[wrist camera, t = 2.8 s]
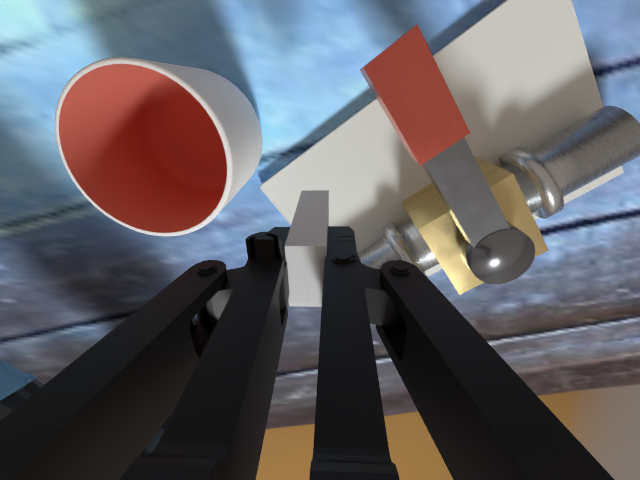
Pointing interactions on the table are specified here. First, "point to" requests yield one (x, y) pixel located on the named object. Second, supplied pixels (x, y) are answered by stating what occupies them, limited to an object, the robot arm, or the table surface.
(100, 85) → the cup
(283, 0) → the table surface
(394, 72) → the lever
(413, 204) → the valve
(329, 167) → the board
